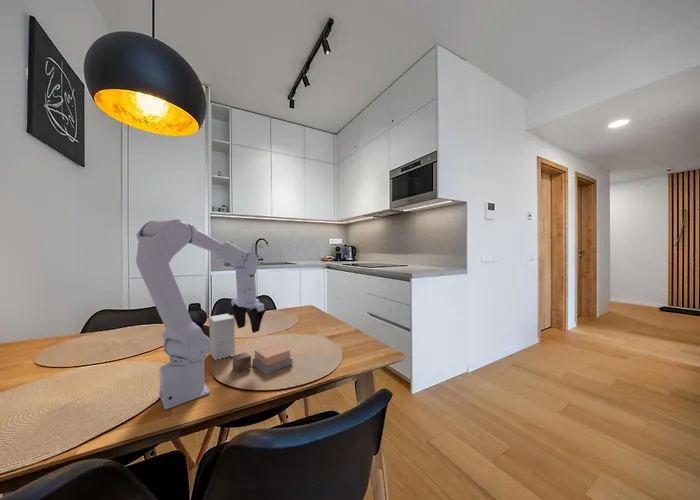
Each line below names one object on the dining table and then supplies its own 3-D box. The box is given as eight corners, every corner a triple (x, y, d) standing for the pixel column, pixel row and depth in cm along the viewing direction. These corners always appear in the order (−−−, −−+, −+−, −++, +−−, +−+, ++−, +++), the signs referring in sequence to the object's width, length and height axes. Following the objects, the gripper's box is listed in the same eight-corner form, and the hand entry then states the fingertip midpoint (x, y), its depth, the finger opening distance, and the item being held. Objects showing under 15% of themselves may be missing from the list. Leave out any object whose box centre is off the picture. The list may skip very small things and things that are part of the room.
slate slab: (265, 376, 75) (265, 367, 75) (252, 365, 82) (252, 358, 82) (292, 365, 81) (292, 358, 81) (278, 357, 88) (278, 349, 88)
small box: (235, 355, 88) (234, 317, 88) (214, 361, 84) (213, 321, 84) (228, 348, 94) (228, 313, 94) (209, 353, 90) (208, 316, 90)
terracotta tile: (266, 366, 76) (266, 358, 76) (254, 357, 82) (254, 350, 82) (290, 357, 81) (290, 350, 81) (277, 350, 87) (277, 343, 87)
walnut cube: (237, 373, 76) (237, 360, 76) (232, 368, 79) (232, 355, 79) (251, 368, 79) (250, 355, 79) (245, 364, 82) (245, 352, 82)
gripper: (271, 288, 83) (273, 329, 84) (243, 284, 91) (245, 321, 92) (252, 292, 77) (254, 337, 78) (224, 288, 85) (227, 328, 86)
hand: (248, 329), depth 84 cm, fingers open, 7 cm apart
